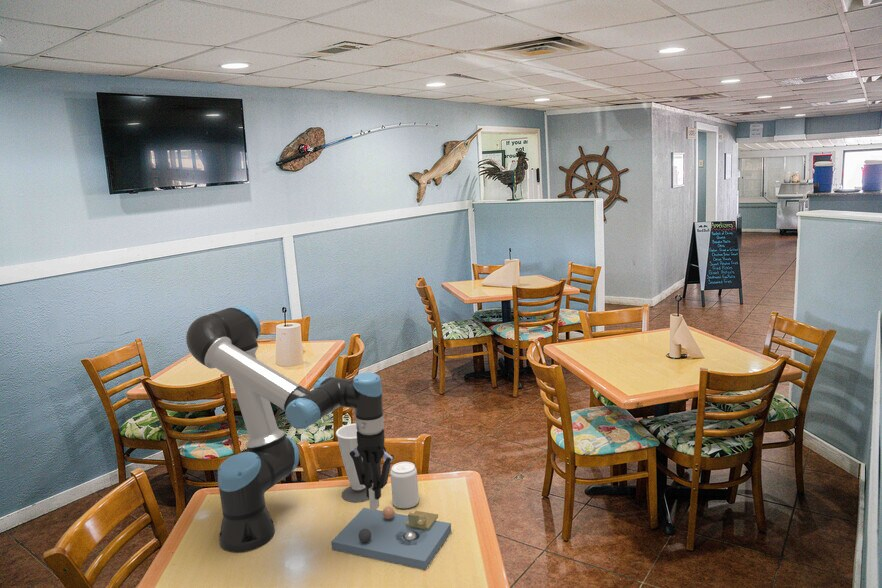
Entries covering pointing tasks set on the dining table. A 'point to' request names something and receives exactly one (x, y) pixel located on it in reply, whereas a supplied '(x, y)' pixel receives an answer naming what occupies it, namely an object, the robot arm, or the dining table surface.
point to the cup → (350, 463)
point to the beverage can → (404, 485)
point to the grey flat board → (391, 539)
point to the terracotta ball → (388, 512)
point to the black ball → (364, 535)
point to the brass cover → (421, 520)
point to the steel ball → (410, 536)
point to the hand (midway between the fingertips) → (374, 508)
